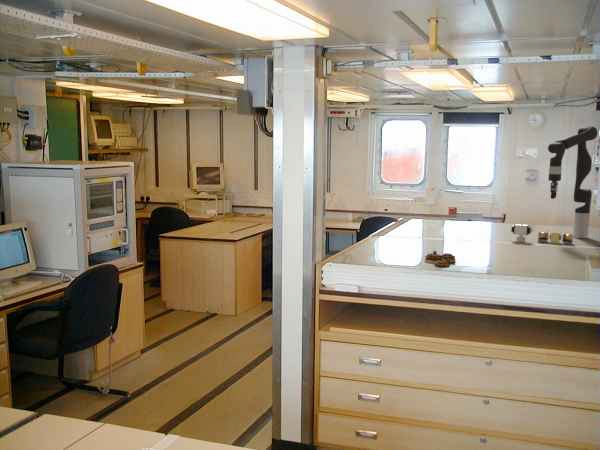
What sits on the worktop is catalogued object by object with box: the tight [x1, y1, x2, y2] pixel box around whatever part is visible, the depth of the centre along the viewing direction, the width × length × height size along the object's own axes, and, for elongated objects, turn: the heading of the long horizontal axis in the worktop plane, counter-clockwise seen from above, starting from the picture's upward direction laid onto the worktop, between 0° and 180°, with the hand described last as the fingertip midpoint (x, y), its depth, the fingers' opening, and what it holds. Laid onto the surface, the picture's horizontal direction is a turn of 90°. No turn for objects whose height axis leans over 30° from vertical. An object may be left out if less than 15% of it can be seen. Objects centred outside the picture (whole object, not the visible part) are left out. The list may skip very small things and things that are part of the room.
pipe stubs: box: [537, 230, 574, 246], centre depth 393 cm, size 6×20×7 cm, turn 61°
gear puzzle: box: [424, 250, 457, 267], centre depth 324 cm, size 31×16×4 cm, turn 168°
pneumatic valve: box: [510, 223, 533, 243], centre depth 397 cm, size 6×12×12 cm, turn 57°
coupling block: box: [549, 231, 562, 245], centre depth 393 cm, size 7×5×7 cm
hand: (553, 198), depth 400 cm, fingers open, 8 cm apart
